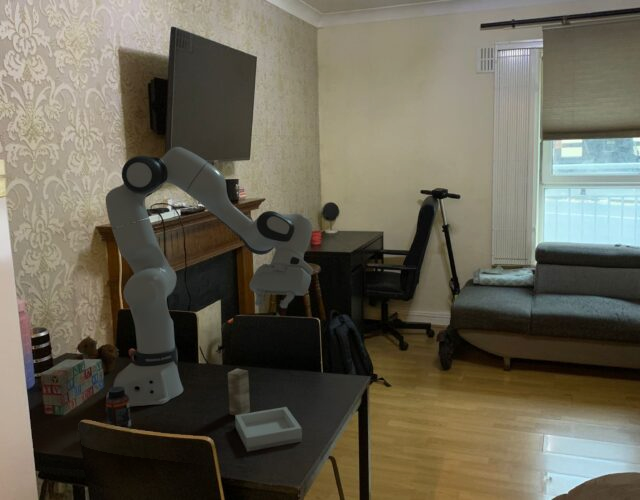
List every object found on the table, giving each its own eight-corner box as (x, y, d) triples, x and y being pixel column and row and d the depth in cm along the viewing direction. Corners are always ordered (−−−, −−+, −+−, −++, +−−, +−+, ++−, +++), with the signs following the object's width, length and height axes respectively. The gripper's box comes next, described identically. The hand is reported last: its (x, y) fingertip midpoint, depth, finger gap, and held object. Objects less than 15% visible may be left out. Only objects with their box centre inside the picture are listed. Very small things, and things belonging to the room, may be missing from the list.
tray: (247, 451, 150) (246, 437, 149) (235, 427, 163) (235, 415, 162) (302, 441, 154) (301, 428, 154) (286, 419, 167) (286, 406, 167)
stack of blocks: (87, 386, 196) (83, 349, 194) (104, 387, 195) (101, 350, 193) (44, 414, 175) (39, 373, 173) (63, 416, 174) (59, 374, 172)
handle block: (229, 414, 172) (227, 372, 170) (238, 408, 175) (236, 368, 173) (241, 416, 170) (239, 375, 168) (250, 411, 173) (248, 370, 171)
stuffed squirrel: (71, 375, 206) (67, 337, 204) (113, 365, 214) (110, 329, 212) (80, 383, 198) (76, 344, 196) (123, 373, 206) (120, 335, 204)
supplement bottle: (136, 427, 165) (133, 387, 163) (118, 436, 160) (114, 395, 158) (121, 422, 168) (118, 383, 166) (103, 431, 163) (99, 390, 161)
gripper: (254, 259, 188) (237, 299, 183) (306, 259, 176) (291, 303, 170) (266, 269, 193) (250, 309, 187) (318, 270, 180) (303, 313, 175)
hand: (270, 306), depth 179 cm, fingers open, 8 cm apart
